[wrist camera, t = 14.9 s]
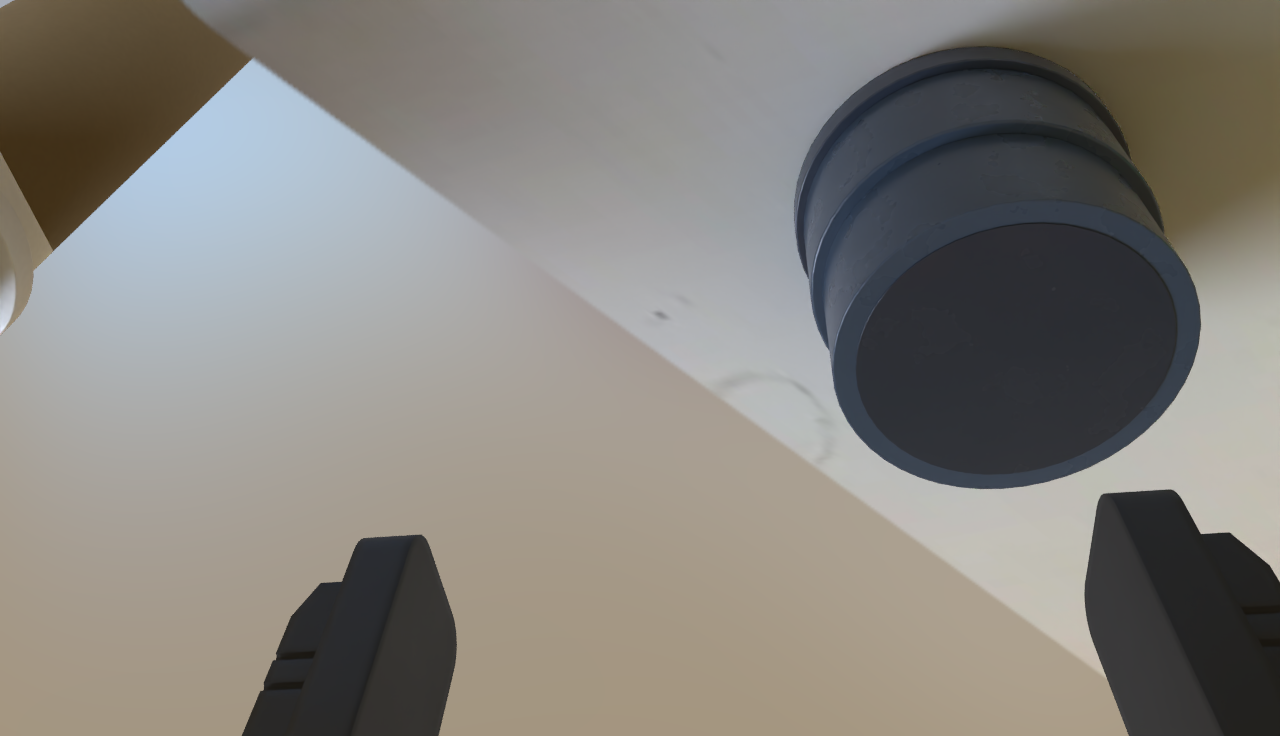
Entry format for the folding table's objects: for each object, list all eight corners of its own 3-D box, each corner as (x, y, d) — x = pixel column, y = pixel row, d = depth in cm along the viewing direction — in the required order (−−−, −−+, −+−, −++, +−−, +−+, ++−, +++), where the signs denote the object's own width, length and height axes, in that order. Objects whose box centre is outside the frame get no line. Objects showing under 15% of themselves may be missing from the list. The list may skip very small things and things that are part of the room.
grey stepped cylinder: (802, 346, 44) (817, 515, 36) (784, 67, 37) (798, 199, 29) (1104, 323, 42) (1192, 495, 34) (1145, 26, 35) (1266, 155, 27)
